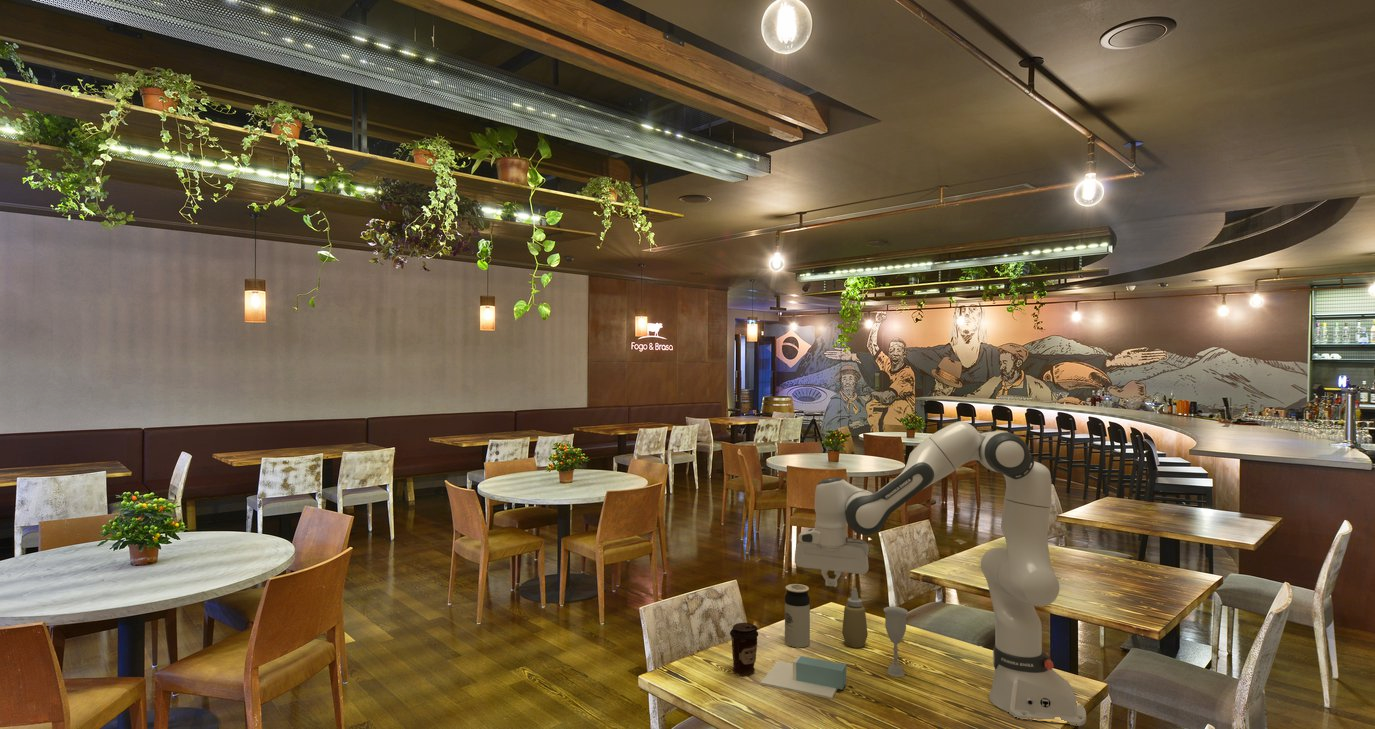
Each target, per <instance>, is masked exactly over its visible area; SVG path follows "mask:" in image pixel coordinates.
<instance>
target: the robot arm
mask: <svg viewBox="0 0 1375 729" xmlns="http://www.w3.org/2000/svg"><path fill="white" fill-rule="evenodd" d="M972 461H975V462H976V463H977V464H979V465H981V466H982V467H984V468H986V469H987V470H989V471H991V472H994V473H999V474H1001V475H1003V477H1004V480H1005V492H1004V500H1003V508H1002V513H1001V522H1000V523H1001V524H1000V526H1001V527H1000V529H1001V531H1002V533H1003V536H1004V539H1005V545H1006V548H1004V547H993V548H990V549H988V550H987V551H986V552H984V554H983V555H982V557H981V560H980V569H981V572H982V574H983V576H984V578H985V580H986V584H987V586H988V592H989V596H990V600H991V603H992V608H993V614H994V628H995V629H994V630H995V635H994V639H995V641H994V642H995V644H994V645H993V649H992V650H993V651H992V661H993V662H992V663H993V668H994V671H993V679H992V685H991V689H990V692H989V695H988V699H989V701H990V702H991V703H992V704H993V705H994V706H996V707H997V708H999V709H1001V710H1002V711H1005V712H1007V713H1008V712H1009V713H1008V714H1009V715H1011V716H1012V715H1013V716H1012V717H1014V718H1015V717H1017V718H1016V719H1018V718H1029V719H1030V718H1031V719H1034V718H1035V719H1036V718H1037V719H1054V718H1055V717H1060V718H1061V720H1064V721H1067V722H1069V723H1070V725H1069V726H1074V727H1075V726H1076V727H1077V726H1079V727H1081V726H1083V725H1085V724H1086V723H1087V712H1086V708H1085V707H1084V706H1083V704H1082V703H1081V705H1079V706H1077V703H1076V700H1077V697H1076V695H1075V694H1076V693H1075V692H1074V689H1073V687H1072V685H1071V684H1070V682H1069V681H1068V680H1066V679H1065V678H1063V677H1062V676H1061V675H1060V674H1059V673H1058V672H1056V670H1054V667H1055V666H1054V661H1052V660H1051V656H1050V655H1049V654H1050V653H1048V652H1047V651H1046V652H1044V651H1043V650H1042V648H1043V647H1042V646H1043V645H1042V644H1043V643H1042V642H1043V640H1042V639H1043V636H1042V632H1043V630H1042V628H1043V627H1042V626H1043V625H1042V621H1041V619H1040V616H1039V615H1038V613H1037V610H1036V608H1035V607H1040V608H1042V607H1046V606H1047V607H1048V606H1050V605H1051V604H1052V603H1053V602H1055V601H1056V599H1057V597H1058V596H1059V593H1060V582H1059V580H1058V577H1057V576H1056V573H1055V571H1054V569H1053V566H1052V561H1051V556H1050V550H1049V543H1048V542H1049V540H1048V536H1049V535H1048V532H1049V523H1050V513H1051V506H1052V505H1051V504H1052V492H1053V491H1052V475H1051V472H1050V469H1049V468H1048V467H1047V466H1045V465H1044V464H1043V463H1040V462H1037V461H1035V460H1034V459H1033V456H1032V454H1031V452H1030V449H1029V447H1028V445H1027V443H1026V442H1025V441H1024V440H1023V438H1021V437H1020V436H1019V435H1017V434H1015V433H1012V432H1010V431H1005V430H989V431H980V432H979V431H978V430H977V428H975V426H973V425H972V424H970V423H969V422H966V421H960V420H959V421H955V422H953V423H951V424H949V425H946V426H944V427H943V428H941V429H939V430H937V431H936V432H934V433H932V434H931V435H929V437H927V438H925V439H924V440H923V441H921V442H920V443H918V445H916V447H915V448H913V449H912V451H911V452H910V453H909V456H908V459H907V462H906V465H905V467H904V469H903V470H902V471H901V472H900V474H899V475H898V476H896V477H895V478H894V479H892V480H891V481H889V482H888V483H887V484H886V485H884V486H883V487H881V488H880V489H879V490H878V491H876V492H874V493H873V492H872V491H869V490H866V489H864V488H860V487H857V486H855V485H853V484H851V483H850V482H848V481H846V480H845V479H843V478H842V477H828V478H825V479H822V480H820V481H819V482H818V483H817V484H816V487H815V491H814V492H815V493H814V512H815V516H816V518H815V523H814V528H809V529H805V530H803V531H802V532H800V533H799V534H798V537H797V540H798V543H797V544H796V546H795V550H794V564H795V565H796V567H799V568H805V569H813V570H815V569H816V570H821V575H822V577H823V579H824V580H825V583H824V584H825V587H831V588H832V587H834V588H836V587H837V586H838V579H839V578H840V576H841V575H842V573H847V574H856V575H857V574H858V575H866V573H867V572H868V571H869V569H870V568H869V558H868V555H869V554H870V553H869V552H870V546H869V544H868V542H866V541H865V540H864V539H863V538H852V537H848V527H849V528H850V529H851V530H852V531H853V532H855V533H857V534H859V535H862V536H871V535H874V534H876V533H878V532H879V531H880V530H881V529H882V528H883V527H884V525H885V523H886V522H887V520H888V518H889V517H890V515H891V514H893V513H894V512H895V511H896V510H897V509H898V508H900V507H901V506H902V505H904V504H905V503H906V502H908V501H909V500H910V499H912V498H913V497H914V496H915V495H917V494H918V493H919V492H921V491H923V490H925V489H926V488H928V487H930V486H931V485H932V484H934V483H936V482H938V481H940V480H942V479H944V478H945V477H947V476H948V475H950V474H952V473H954V472H955V471H957V469H959V468H960V467H962V466H963V465H965V464H967V463H969V462H972ZM829 571H831V572H834V574H833V575H834V576H835V577H834V578H830V577H829V575H828V572H829ZM1076 724H1077V725H1076Z"/></svg>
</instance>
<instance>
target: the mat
mask: <svg viewBox="0 0 1375 729" xmlns="http://www.w3.org/2000/svg"><path fill="white" fill-rule="evenodd" d="M760 685H761V686H765V687H771V688H776V689H780V690H784V691H785V690H786V691H790V692H795V693H800V694H805V695H809V696H813V697H819V698H824V699H828V700H833V698H834V696H835V695H836V693H837V691H838V689H837V688H832V687H827V686H822V685H817V684H812V683H807V682H802V681H796V680H793V662H786V661H782V660H778V661H777V662H776V663H775V664H774V666H772V668H770V670H769V671H768V672H767V674H766V675H765V676H764V678H763V679H762V680H761V681H760Z"/></svg>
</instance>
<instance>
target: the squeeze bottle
mask: <svg viewBox="0 0 1375 729" xmlns="http://www.w3.org/2000/svg"><path fill="white" fill-rule="evenodd" d="M850 595H851V596H850V597H848V598H847V601H846V602H847V604H846V605H845V606H844V610H843V620H842V628H841V631H842V632H841V635H842V636H843V640H844V642H845V644H846V646H847V647H850V648H856V649H859V648H864V647H865V644H866V642H867V638H868V636H869V634H868V625H867V615H866V614H867V612H866V607H864V605H863V600H862V598H859V593H858V589H857V587H853V588H852V591H851V594H850Z"/></svg>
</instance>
